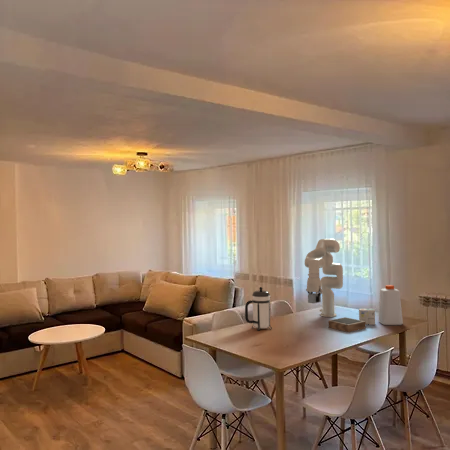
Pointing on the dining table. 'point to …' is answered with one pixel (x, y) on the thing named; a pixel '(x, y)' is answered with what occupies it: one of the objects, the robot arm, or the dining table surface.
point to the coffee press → (260, 309)
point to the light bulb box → (367, 316)
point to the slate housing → (313, 298)
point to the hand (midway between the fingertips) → (314, 300)
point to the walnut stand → (347, 324)
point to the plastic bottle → (390, 306)
